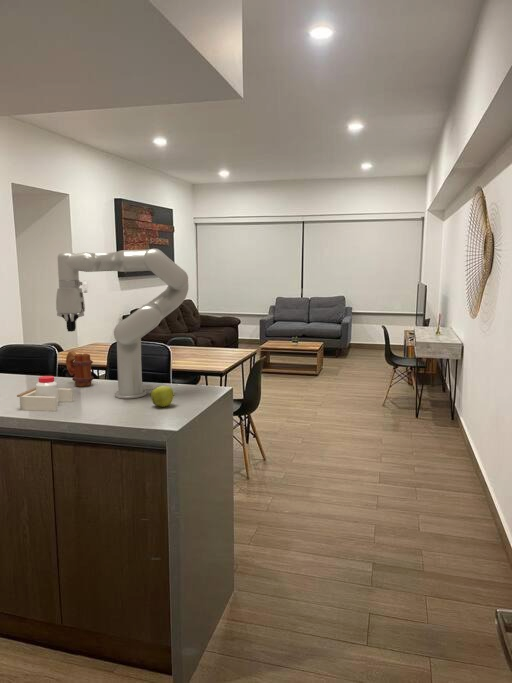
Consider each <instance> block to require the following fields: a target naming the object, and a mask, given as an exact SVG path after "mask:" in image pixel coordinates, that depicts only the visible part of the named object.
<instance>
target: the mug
mask: <svg viewBox="0 0 512 683" xmlns="http://www.w3.org/2000/svg"><path fill="white" fill-rule="evenodd" d="M93 363H94V361H93V360H92V359H91V354H89V353H76V352H75V351H74V350H73V351H72V350H71V351H68V352H67V354H66V357H65V364H66V368H67V369H66V370H67V371H68V373H69V375H70V376H71V377H72V376H73V377H72V378H71V379H72V381H73V382H74V385H75V386H76V387H79V388H82V387H83V388H85V387H88V386H91V385H92V382H93V380H94V378H95V377H94V376H93V375H92V364H93Z"/></svg>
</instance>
